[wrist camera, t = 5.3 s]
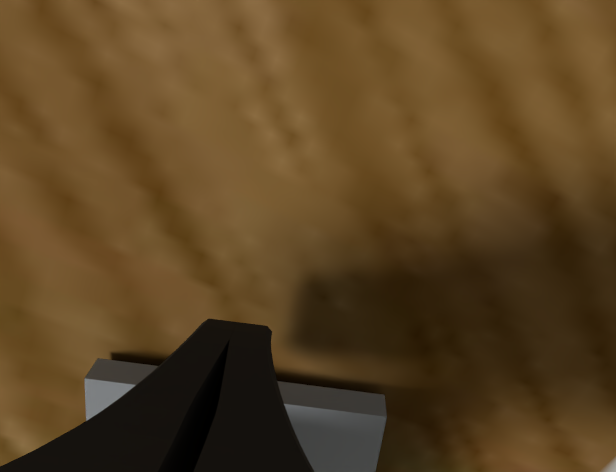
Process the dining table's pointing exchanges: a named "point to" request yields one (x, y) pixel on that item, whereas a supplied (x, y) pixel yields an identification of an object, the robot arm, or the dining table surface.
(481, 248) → the dining table surface
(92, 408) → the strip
